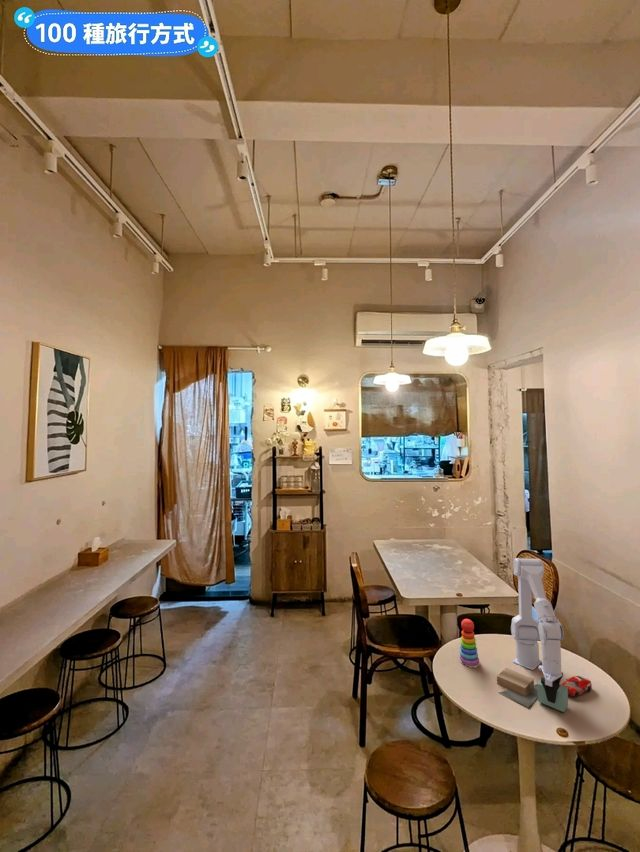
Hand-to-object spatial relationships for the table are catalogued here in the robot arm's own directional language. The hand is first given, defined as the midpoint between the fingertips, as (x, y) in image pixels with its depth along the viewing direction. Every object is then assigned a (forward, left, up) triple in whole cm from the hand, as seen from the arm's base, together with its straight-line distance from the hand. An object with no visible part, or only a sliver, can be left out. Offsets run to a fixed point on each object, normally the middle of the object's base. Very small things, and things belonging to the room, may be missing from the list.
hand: (552, 697), depth 137 cm
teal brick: (0, 0, -2) cm, 2 cm away
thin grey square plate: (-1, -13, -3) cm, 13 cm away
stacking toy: (-2, -32, -3) cm, 32 cm away
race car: (-11, +3, -4) cm, 13 cm away
